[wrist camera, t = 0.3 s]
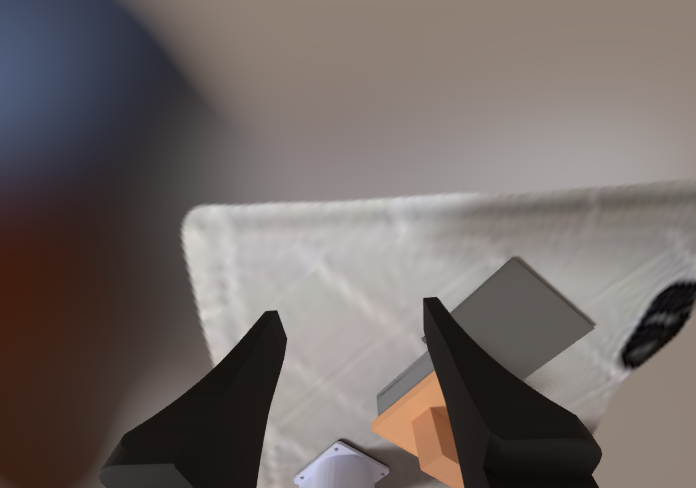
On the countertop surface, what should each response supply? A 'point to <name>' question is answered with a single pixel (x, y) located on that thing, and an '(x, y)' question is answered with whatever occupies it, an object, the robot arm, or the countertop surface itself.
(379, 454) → the countertop surface
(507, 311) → the mat
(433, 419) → the lid
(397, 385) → the box
